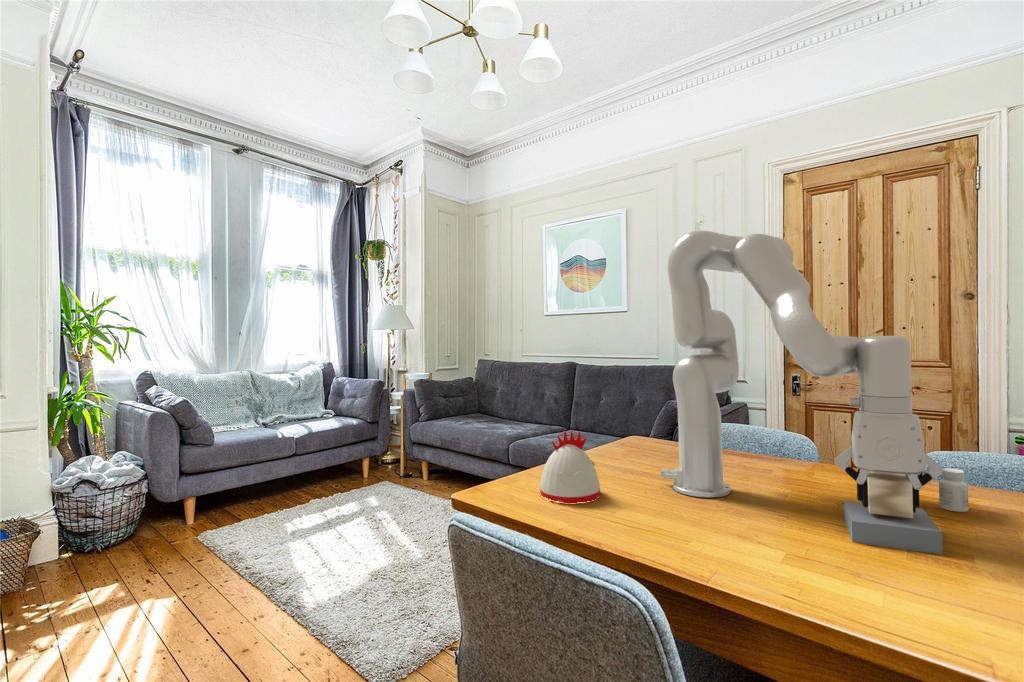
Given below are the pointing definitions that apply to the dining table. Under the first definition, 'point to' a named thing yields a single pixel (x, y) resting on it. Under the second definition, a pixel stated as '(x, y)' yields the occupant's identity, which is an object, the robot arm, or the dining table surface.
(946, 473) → the pill bottle
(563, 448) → the white red dome
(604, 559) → the dining table surface
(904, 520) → the charcoal block
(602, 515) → the dining table surface
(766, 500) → the dining table surface
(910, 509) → the oak cube
